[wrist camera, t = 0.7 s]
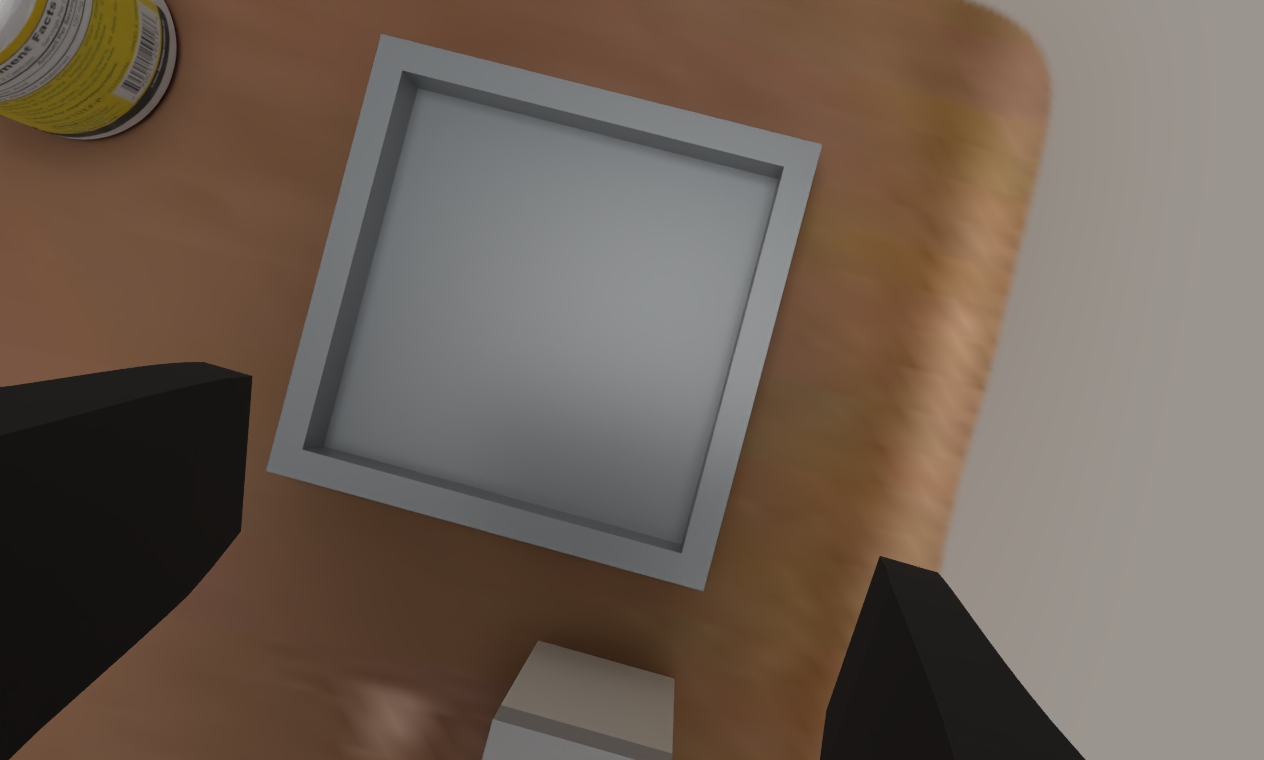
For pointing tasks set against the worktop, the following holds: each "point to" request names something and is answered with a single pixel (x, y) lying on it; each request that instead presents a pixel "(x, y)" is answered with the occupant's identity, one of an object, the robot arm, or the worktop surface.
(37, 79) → the supplement bottle
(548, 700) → the light grey tall block
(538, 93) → the tray
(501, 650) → the worktop surface
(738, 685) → the worktop surface
